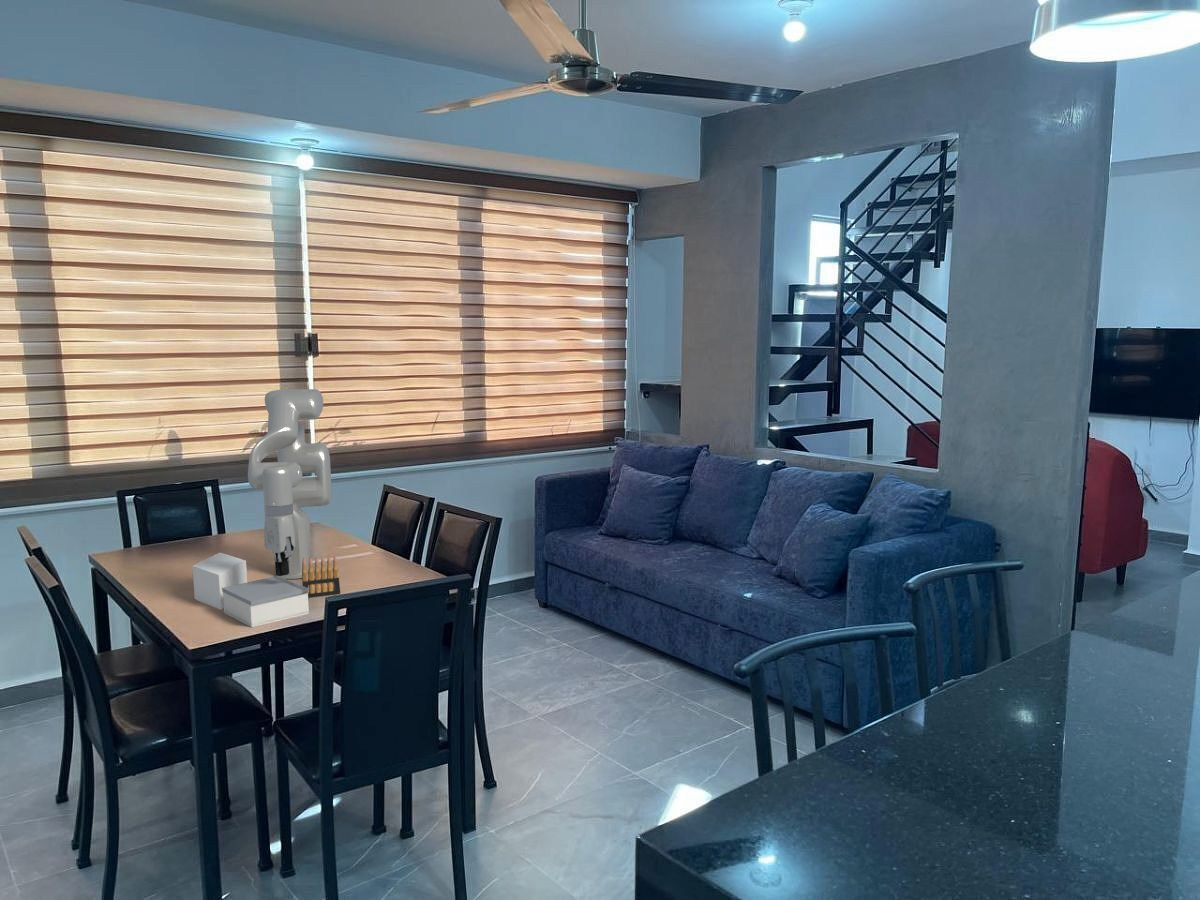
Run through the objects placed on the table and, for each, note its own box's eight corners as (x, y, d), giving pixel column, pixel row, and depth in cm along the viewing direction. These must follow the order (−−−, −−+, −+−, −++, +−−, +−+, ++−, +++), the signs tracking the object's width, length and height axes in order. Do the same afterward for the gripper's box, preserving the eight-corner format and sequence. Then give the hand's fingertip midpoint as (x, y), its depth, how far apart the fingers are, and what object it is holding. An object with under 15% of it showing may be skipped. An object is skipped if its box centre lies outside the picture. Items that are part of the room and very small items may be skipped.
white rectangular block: (247, 581, 272) (245, 550, 271) (248, 607, 246) (246, 572, 245) (196, 587, 267) (194, 554, 266) (192, 613, 240) (190, 577, 239)
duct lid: (222, 591, 240) (221, 587, 240) (277, 579, 251) (277, 575, 251) (251, 605, 227) (251, 601, 226) (308, 592, 238) (308, 588, 238)
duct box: (224, 612, 240) (222, 591, 240) (283, 599, 252) (281, 579, 252) (251, 627, 228) (250, 605, 227) (312, 612, 240) (311, 591, 239)
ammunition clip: (339, 592, 259) (337, 553, 258) (340, 594, 258) (338, 554, 256) (302, 596, 255) (300, 557, 254) (302, 598, 253) (300, 558, 252)
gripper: (254, 508, 242) (258, 572, 245) (277, 516, 232) (281, 582, 234) (280, 505, 248) (283, 567, 250) (304, 512, 237) (307, 577, 239)
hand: (282, 574), depth 242 cm, fingers closed
